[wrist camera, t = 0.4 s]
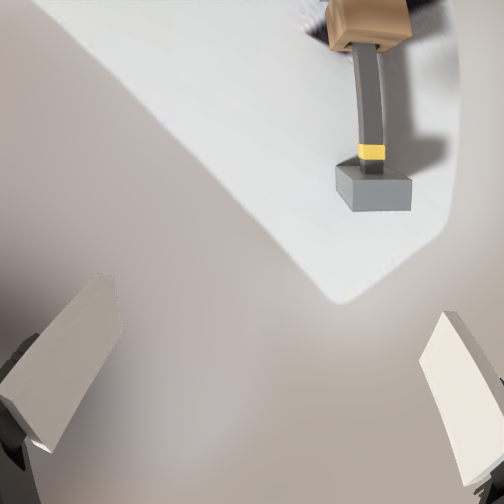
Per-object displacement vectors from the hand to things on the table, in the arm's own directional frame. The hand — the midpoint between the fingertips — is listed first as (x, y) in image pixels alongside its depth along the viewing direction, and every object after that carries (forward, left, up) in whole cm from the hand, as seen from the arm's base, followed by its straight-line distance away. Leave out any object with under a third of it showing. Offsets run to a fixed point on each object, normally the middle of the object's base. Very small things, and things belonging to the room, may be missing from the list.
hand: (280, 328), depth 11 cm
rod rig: (-13, +10, -27) cm, 31 cm away
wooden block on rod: (-18, +10, -25) cm, 32 cm away
